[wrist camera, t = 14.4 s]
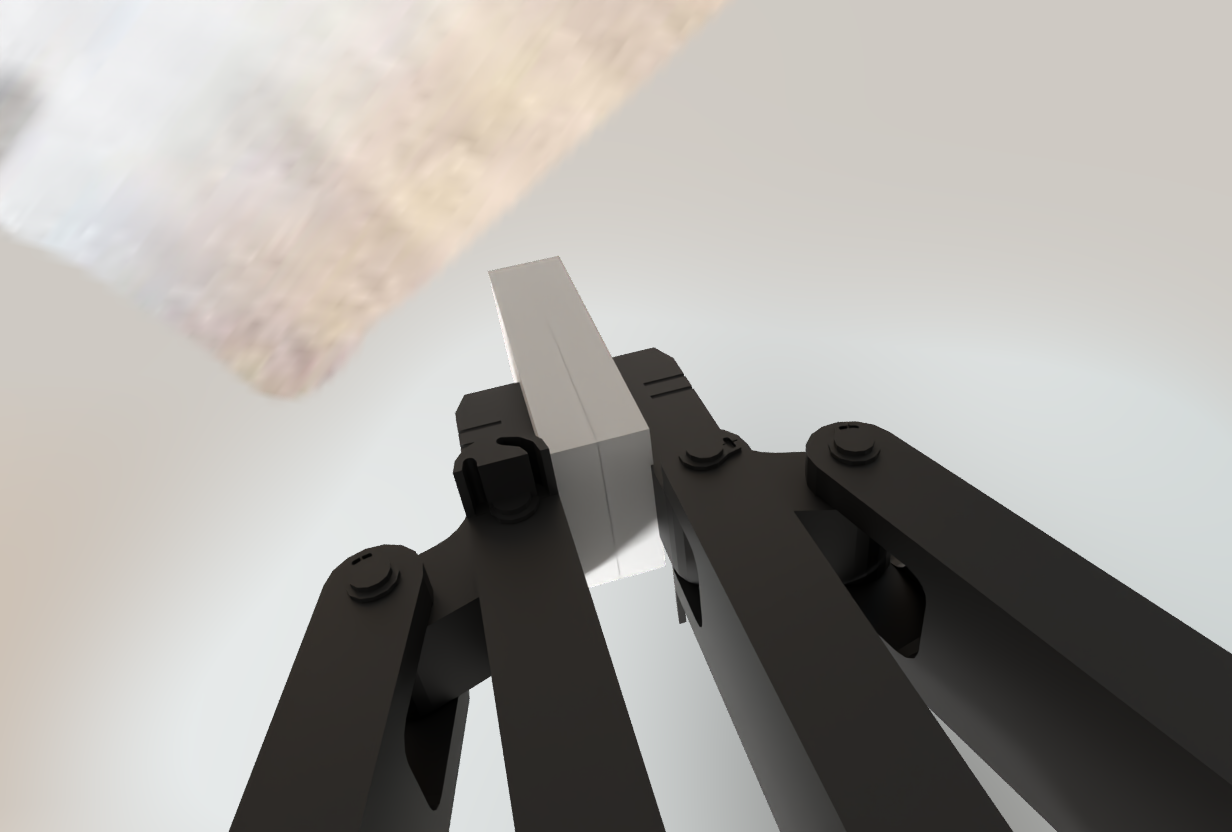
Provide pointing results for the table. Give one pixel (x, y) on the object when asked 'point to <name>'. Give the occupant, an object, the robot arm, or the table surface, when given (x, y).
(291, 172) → the table surface
